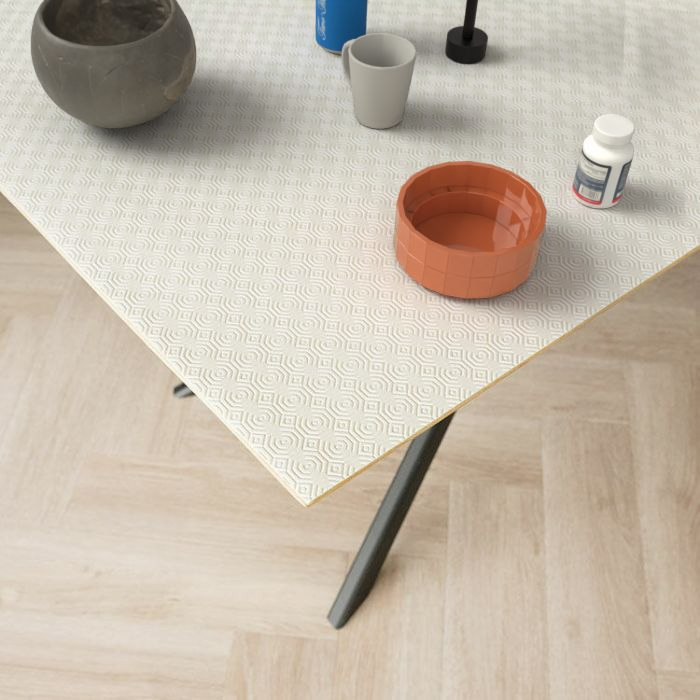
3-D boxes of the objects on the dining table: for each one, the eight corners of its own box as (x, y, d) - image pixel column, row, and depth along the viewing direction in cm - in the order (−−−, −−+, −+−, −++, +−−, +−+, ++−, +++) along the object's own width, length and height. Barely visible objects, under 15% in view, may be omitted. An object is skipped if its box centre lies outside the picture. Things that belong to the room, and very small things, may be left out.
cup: (378, 143, 103) (382, 76, 97) (319, 105, 108) (319, 39, 102) (424, 117, 107) (431, 51, 101) (365, 82, 112) (368, 17, 105)
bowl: (186, 59, 114) (174, -40, 105) (216, 141, 103) (206, 37, 93) (40, 79, 110) (14, -22, 101) (55, 167, 99) (28, 61, 89)
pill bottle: (608, 177, 100) (629, 107, 94) (628, 206, 97) (650, 136, 90) (563, 182, 100) (581, 112, 93) (581, 212, 96) (601, 142, 90)
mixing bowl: (540, 219, 95) (551, 173, 91) (528, 314, 86) (540, 267, 81) (407, 198, 97) (411, 151, 93) (381, 288, 88) (384, 241, 83)
